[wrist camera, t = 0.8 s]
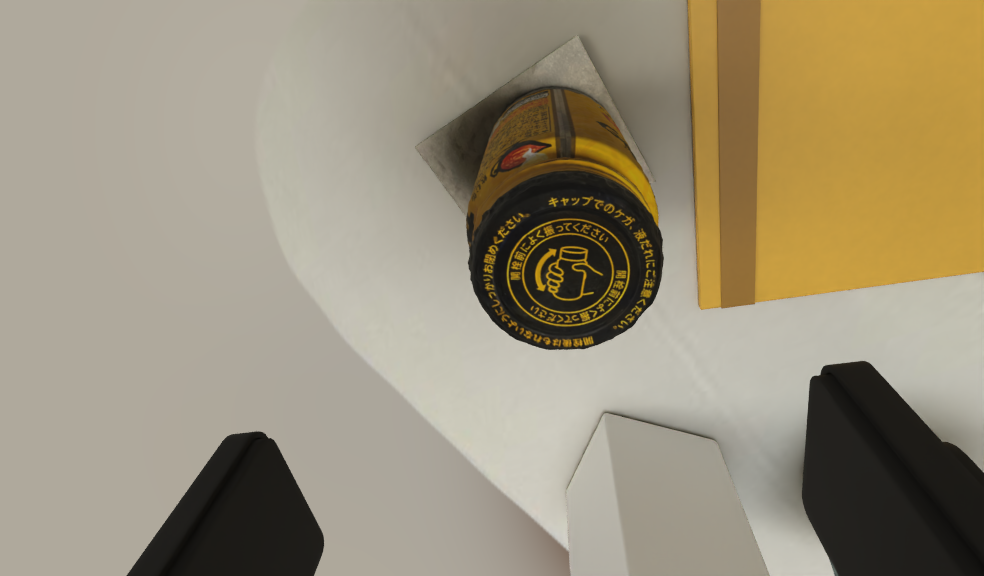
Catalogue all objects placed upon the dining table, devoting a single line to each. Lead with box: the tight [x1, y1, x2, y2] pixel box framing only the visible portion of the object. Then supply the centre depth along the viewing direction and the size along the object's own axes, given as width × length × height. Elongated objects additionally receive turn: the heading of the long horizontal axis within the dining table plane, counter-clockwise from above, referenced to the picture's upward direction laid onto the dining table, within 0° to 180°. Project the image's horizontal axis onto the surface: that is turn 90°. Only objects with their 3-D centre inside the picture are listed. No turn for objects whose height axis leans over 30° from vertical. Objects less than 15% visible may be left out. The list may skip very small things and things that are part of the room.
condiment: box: [415, 35, 664, 350], centre depth 20 cm, size 7×8×12 cm
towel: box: [688, 0, 984, 310], centre depth 21 cm, size 22×16×1 cm
